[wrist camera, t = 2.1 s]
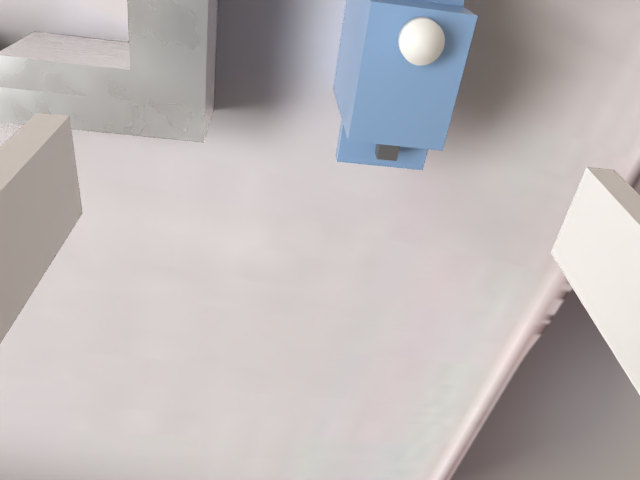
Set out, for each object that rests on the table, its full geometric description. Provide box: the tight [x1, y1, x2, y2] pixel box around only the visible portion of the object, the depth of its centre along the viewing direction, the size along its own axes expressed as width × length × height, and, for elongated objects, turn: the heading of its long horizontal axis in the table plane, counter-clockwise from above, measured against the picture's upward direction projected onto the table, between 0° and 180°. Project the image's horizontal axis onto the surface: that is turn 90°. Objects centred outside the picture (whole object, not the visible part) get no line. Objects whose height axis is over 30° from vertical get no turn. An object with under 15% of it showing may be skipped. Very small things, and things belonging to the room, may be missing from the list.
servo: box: [333, 0, 478, 170], centre depth 28 cm, size 10×4×9 cm, turn 172°
